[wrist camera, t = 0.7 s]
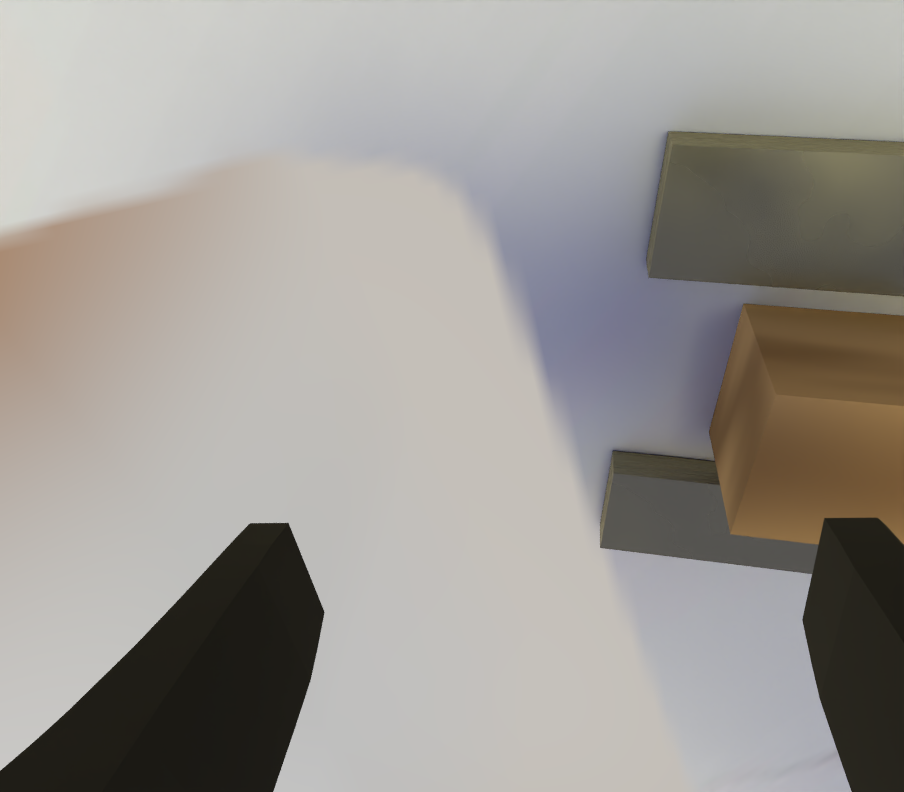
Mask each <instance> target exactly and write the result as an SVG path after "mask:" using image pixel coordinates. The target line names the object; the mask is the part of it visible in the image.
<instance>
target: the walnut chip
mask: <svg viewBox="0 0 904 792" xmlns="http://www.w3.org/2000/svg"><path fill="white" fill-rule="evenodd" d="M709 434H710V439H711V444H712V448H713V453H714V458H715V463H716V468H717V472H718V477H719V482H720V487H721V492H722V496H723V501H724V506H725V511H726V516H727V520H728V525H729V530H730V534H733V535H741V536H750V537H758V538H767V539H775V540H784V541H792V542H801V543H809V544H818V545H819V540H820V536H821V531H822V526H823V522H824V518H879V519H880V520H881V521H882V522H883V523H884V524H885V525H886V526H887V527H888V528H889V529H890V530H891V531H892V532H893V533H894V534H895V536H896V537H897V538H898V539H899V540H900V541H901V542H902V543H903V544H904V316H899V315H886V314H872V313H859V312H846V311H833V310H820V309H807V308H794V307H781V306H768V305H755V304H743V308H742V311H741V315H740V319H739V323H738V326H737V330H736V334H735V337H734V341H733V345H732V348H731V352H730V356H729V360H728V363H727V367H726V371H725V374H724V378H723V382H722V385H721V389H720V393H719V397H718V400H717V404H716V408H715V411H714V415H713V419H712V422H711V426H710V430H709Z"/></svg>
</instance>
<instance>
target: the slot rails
mask: <svg viewBox="0 0 904 792" xmlns="http://www.w3.org/2000/svg"><path fill="white" fill-rule="evenodd" d="M646 262H647V270H648V277H649V278H660V279H674V280H687V281H701V282H715V283H728V284H742V285H756V286H770V287H783V288H797V289H811V290H824V291H838V292H852V293H865V294H879V295H893V296H904V142H887V141H866V140H844V139H823V138H801V137H779V136H758V135H736V134H714V133H693V132H671V131H668V137H667V142H666V148H665V154H664V160H663V165H662V171H661V177H660V183H659V188H658V194H657V200H656V206H655V211H654V217H653V223H652V229H651V234H650V240H649V246H648V252H647V257H646ZM600 548H606V549H614V550H622V551H631V552H639V553H647V554H655V555H663V556H671V557H679V558H687V559H695V560H704V561H712V562H720V563H728V564H736V565H744V566H752V567H760V568H769V569H777V570H785V571H793V572H801V573H809V574H812V573H813V569H814V564H815V559H816V554H817V550H818V544H809V543H801V542H792V541H784V540H775V539H767V538H758V537H750V536H741V535H733V534H730V530H729V525H728V520H727V516H726V511H725V506H724V501H723V496H722V492H721V487H720V482H719V477H718V472H717V468H716V463H715V462H714V461H705V460H695V459H686V458H676V457H667V456H657V455H648V454H638V453H629V452H619V451H613V453H612V459H611V464H610V470H609V476H608V482H607V487H606V493H605V499H604V505H603V510H602V516H601V522H600Z"/></svg>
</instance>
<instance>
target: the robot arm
mask: <svg viewBox="0 0 904 792" xmlns="http://www.w3.org/2000/svg"><path fill="white" fill-rule="evenodd" d="M323 617H324V610H323V608H322V605H321V603H320V600H319V598H318V595H317V593H316V590H315V588H314V585H313V583H312V580H311V578H310V575H309V573H308V570H307V568H306V565H305V563H304V561H303V558H302V556H301V553H300V551H299V548H298V546H297V543H296V541H295V538H294V536H293V534H292V531H291V528H290V526H289V523H258V524H257V523H251V524H249V525H248V526H247V527H246V528H245V529H244V530H243V531H242V532H241V533H240V534H239V535H238V536H237V537H236V538H235V540H234V541H233V542H232V543H231V544H230V545H229V546H228V547H227V548H226V549H225V551H223V552H222V553H221V555H220V556H219V557H218V558H217V559H216V560H215V561H214V562H213V563H212V565H210V566H209V568H208V569H207V570H206V571H205V572H204V573H203V574H202V575H201V576H200V577H199V578H198V580H197V581H196V582H195V583H194V584H193V585H192V586H191V587H190V588H189V589H188V590H187V591H186V593H185V594H184V595H183V596H182V597H181V598H180V599H179V600H178V601H177V602H176V603H175V604H174V605H173V606H172V607H171V608H170V609H169V610H168V612H167V613H166V614H165V615H164V616H163V617H162V618H161V619H160V620H159V621H158V622H157V623H156V624H155V625H154V626H153V627H152V628H151V630H150V631H149V632H148V633H147V634H146V635H145V636H144V637H143V638H142V639H141V640H140V641H139V642H138V643H137V644H136V645H135V646H134V647H133V648H132V649H131V650H130V651H129V652H128V653H127V654H126V655H125V656H124V657H123V658H122V659H121V660H120V661H119V662H118V663H117V664H116V665H115V666H114V667H113V668H112V669H111V670H110V671H109V672H108V673H107V674H106V675H104V677H102V679H100V680H99V681H98V682H97V683H96V684H95V685H94V686H93V687H92V688H91V689H90V690H89V691H88V692H87V693H86V694H85V695H84V696H83V697H82V698H81V699H80V700H79V701H78V702H77V703H76V704H75V705H74V706H73V707H72V708H71V709H70V710H69V711H68V712H66V713H65V714H64V715H63V716H62V717H61V718H60V719H59V720H58V721H57V722H56V723H54V724H53V725H52V726H51V727H50V728H49V729H48V730H47V731H46V732H45V733H43V734H42V735H41V736H40V737H39V738H38V739H37V740H36V741H35V742H33V743H32V744H31V745H30V746H29V747H28V748H26V749H25V750H24V751H23V752H22V753H21V754H19V755H18V756H17V757H16V758H15V759H14V760H13V761H11V762H10V763H9V764H8V765H7V766H6V767H4V768H3V769H2V770H1V771H0V792H273V791H274V788H275V785H276V782H277V778H278V776H279V773H280V770H281V767H282V764H283V761H284V758H285V755H286V752H287V749H288V747H289V743H290V740H291V738H292V735H293V732H294V729H295V726H296V723H297V720H298V717H299V714H300V710H301V708H302V705H303V702H304V699H305V695H306V692H307V689H308V686H309V683H310V680H311V675H312V670H313V666H314V662H315V656H316V653H317V648H318V643H319V637H320V632H321V627H322V622H323ZM803 625H804V630H805V634H806V639H807V644H808V648H809V653H810V658H811V663H812V667H813V671H814V675H815V680H816V684H817V688H818V693H819V697H820V700H821V703H822V706H823V709H824V712H825V715H826V718H827V721H828V724H829V727H830V730H831V733H832V736H833V739H834V742H835V745H836V748H837V750H838V753H839V756H840V759H841V762H842V765H843V768H844V771H845V774H846V776H847V779H848V782H849V785H850V788H851V791H852V792H904V544H903V543H902V542H901V541H900V540H899V539H898V538H897V537H896V536H895V534H894V533H893V532H892V531H891V530H890V529H889V528H888V527H887V526H886V525H885V524H884V523H883V522H882V521H881V520H880V519H879V518H824V522H823V526H822V531H821V536H820V540H819V545H818V550H817V554H816V559H815V564H814V569H813V573H812V578H811V583H810V587H809V592H808V597H807V601H806V606H805V611H804V615H803Z"/></svg>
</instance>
